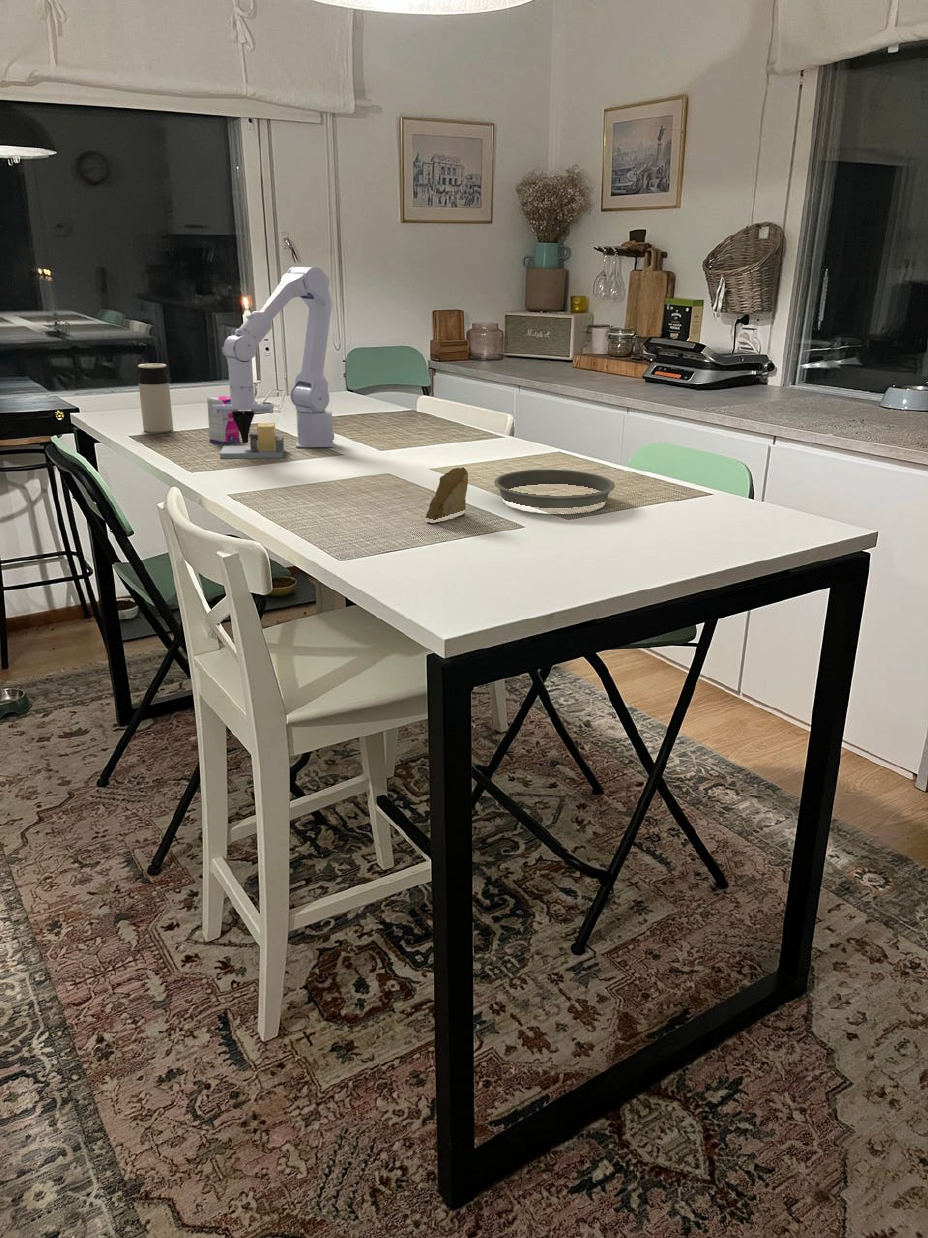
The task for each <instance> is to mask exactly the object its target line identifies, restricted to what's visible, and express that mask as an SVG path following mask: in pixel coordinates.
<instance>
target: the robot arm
mask: <svg viewBox="0 0 928 1238" xmlns="http://www.w3.org/2000/svg"><path fill="white" fill-rule="evenodd" d="M329 286H330V278H329V277H328V276H327V274H326V273H325V271H324V270H323V269H322V268H321V267H318V266H311V267H310V266H308V267H307V266H299V265H297V266H292V267H290V268H289V269H288V270H287V272H286V273H285V274H284V275H282V276H281V279H280V283H279V284H278V285H277V287H276V288H275V290H274V291H273V292H272V294H271V295H270V296H269V298H268V299H267V301H266V302H265V303H264V305H263V306H262V308H261V309H260V310H254V311H252V312H249V313H247V315H246V316H245V317H246V318H247V319H245V321H243V323H242V324H241V326H239V328H236V329H235V331H234V335H230V336H228V337H227V338H226V339H225V341H224V342H223V343H224V344H223V347H221V350H222V353H223V356H224V357H225V358H226V360H227V366H228V367H227V369H228V370H227V371H228V381H229V383H228V384H229V395H230V397H231V404H220V405H213V406H212V408H213V414H217V413H232V415H233V416H232V417H233V419H234V421H235V423H236V425H237V427H238V429H239V435H240V437H241V438H240V439H241V441H242V444H248V443H249V434H250V429H251V426H252V422H253V419H254V417H255V414H274V404H271V403H270V404H269V403H268V404H267V403H266V404H265V403H255V402H256V401H255V387H254V374H253V373H254V372H253V358H254V357H255V358H256V354H257V348H258V346H259V344H261V342H262V340H264V338H265V337H266V336H267V334H268V333H269V332H270V331H271V330H272V328H273V324H272V323H273V322H272V321H273V319H275V318H276V316H277V315H278V314H279V313H280V312H281V310H282V309H284V307H285V306H287V304H289V302H290V301H291V300H292V299H294V298H301V300H302V301H303V302H304V304H306V306H307V308H308V316H307V324H306V331H305V341H304V342H305V343H304V349H303V356H302V357H303V358H302V364H301V371H300V372H299V374H297V375H296V377H295V379H294V384H293V386H292V388H291V390H290V394H289V395H290V396H289V397H290V401H291V402H292V404H293V405H294V406H295V410H296V427H297V429H296V430H297V440H296V443H295V448H333V447H334V440H335V432H333V429H334V428H333V411H332V410H326V409H327V408H328V406H329V404H330V393H329V382H328V380H327V379H326V376H324V370H325V369H324V368H325V361H326V353H327V347H328V339H329V338H328V337H329V330H330V321H331V315H332V314H331V313H332V308H333V307H332V305H333V303H332V299H331V294H330V290H329ZM235 410H238V411H235Z"/></svg>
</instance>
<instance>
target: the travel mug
mask: <svg viewBox="0 0 928 1238" xmlns="http://www.w3.org/2000/svg"><path fill="white" fill-rule="evenodd" d="M137 367H138V368H139V369H138V370H139V374H138V377H137V380H138V390H139V399H140V408H141V416H142V417H141V418H142V427H143V431H145V432H146V431H147V433H151V432H161V433H168V432H167V431H169V432H171V431H172V430H173V429H174V425H173V424H174V423H173V414H172V411H173V410H172V402H171V392H170V391H171V390H170V382H169V375H168V374H167V372H166V368H167V364H165V363H140V364H138V365H137Z"/></svg>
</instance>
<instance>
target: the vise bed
mask: <svg viewBox="0 0 928 1238" xmlns="http://www.w3.org/2000/svg"><path fill="white" fill-rule="evenodd" d="M274 443H275V451H259V449H258V450H257V451H251V446H250V445H223V447H222V449H221V451H220V453H219V458H220V459H268V458H269V459H270V458H274V459H275V458H279V459H280V458H281V459H282V458H283V457H284V453H285V452H284V451H285V444H284V443H285V442H284V434H283V433H276V437H275V441H274Z"/></svg>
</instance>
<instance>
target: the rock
mask: <svg viewBox="0 0 928 1238" xmlns="http://www.w3.org/2000/svg"><path fill="white" fill-rule="evenodd" d="M468 484H469V472H468V471H467V470H466V468H465V467H464V466H463V467H455V468H452V469H450V470H449V471H447V472H445V474H443V475H441V476H440V477H439V483H438V486H437V489H436V492H435V495H434V497H432V499H431V501H430V504H429V508H428V511H427V512H426V514H425V518H429V519H433V520H436V519H438V518H442V517H445V516H448V515H450V514H454V513H457V512H460V511H463V510H465V511H466V508H467V507H466V506H467V505H466V496H467V491H468Z"/></svg>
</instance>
